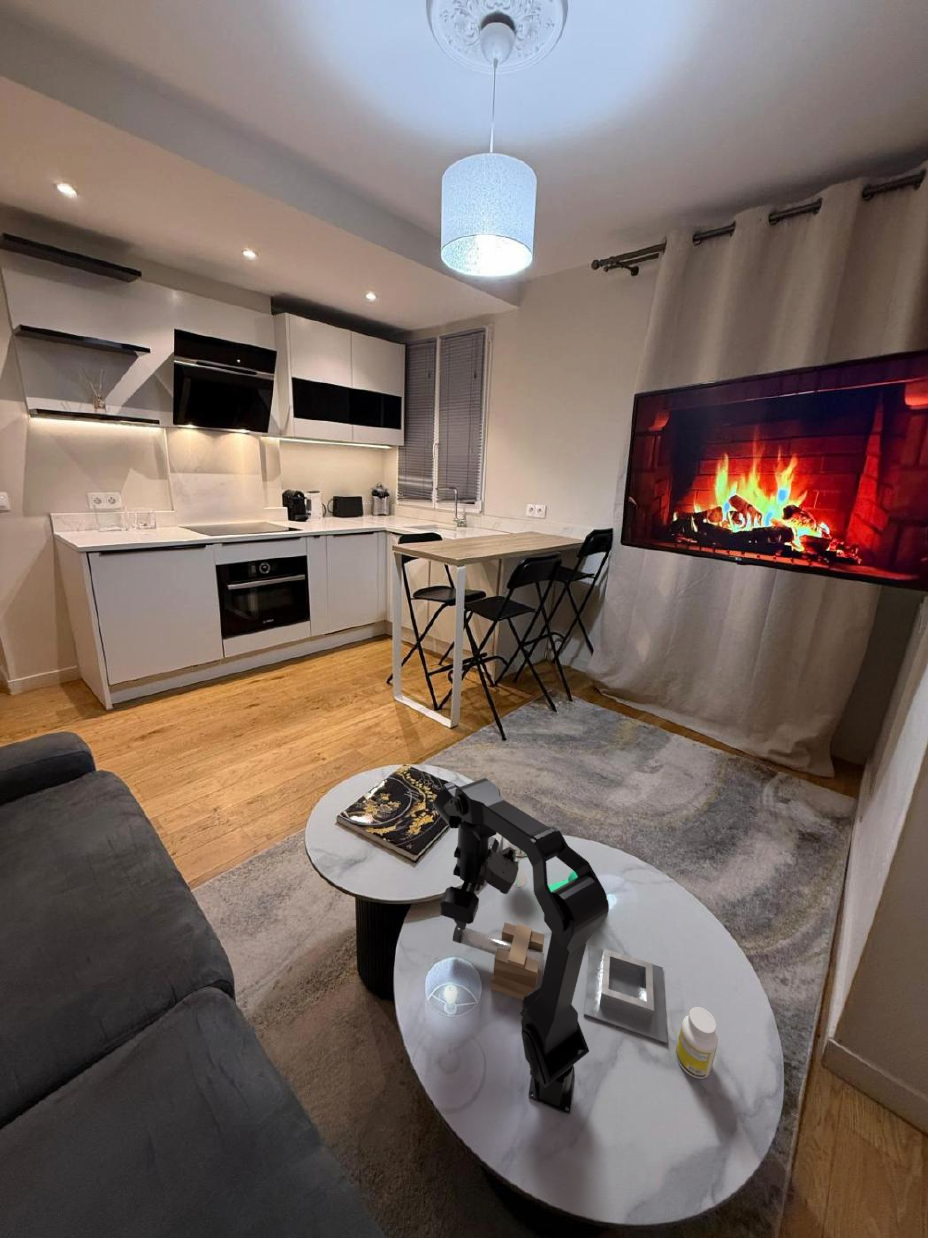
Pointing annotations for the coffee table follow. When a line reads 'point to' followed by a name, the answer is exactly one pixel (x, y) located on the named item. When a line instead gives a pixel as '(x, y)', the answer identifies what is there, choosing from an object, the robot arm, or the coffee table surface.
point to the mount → (517, 961)
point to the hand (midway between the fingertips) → (469, 908)
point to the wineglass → (520, 855)
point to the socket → (626, 994)
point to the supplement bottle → (697, 1043)
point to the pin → (490, 943)
